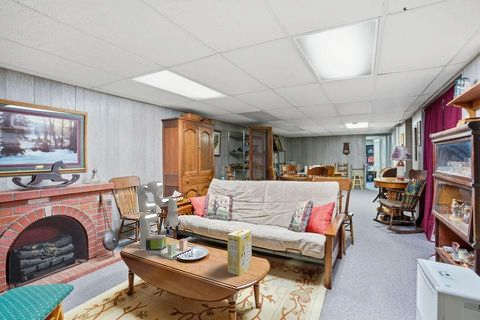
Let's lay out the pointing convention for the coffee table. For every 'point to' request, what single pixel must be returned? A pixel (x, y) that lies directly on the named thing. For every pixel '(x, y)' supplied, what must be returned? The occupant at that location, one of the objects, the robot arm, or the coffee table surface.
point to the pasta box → (239, 251)
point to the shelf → (165, 254)
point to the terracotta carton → (183, 244)
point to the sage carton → (171, 249)
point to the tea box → (155, 244)
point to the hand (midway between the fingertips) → (172, 232)
